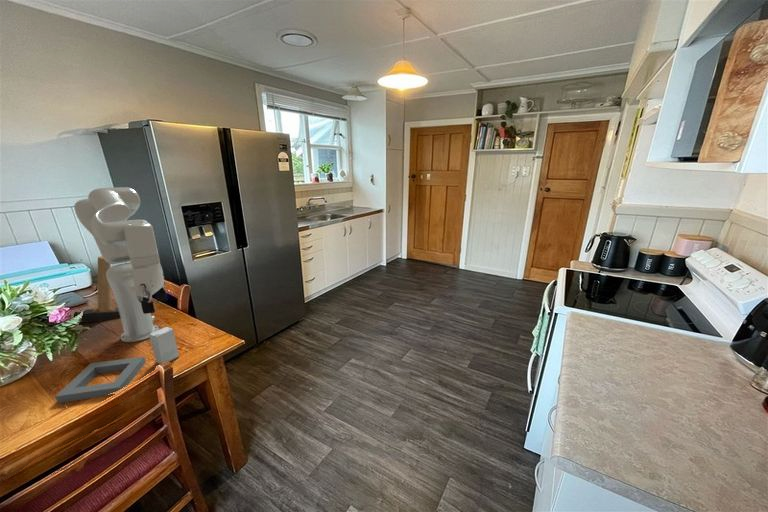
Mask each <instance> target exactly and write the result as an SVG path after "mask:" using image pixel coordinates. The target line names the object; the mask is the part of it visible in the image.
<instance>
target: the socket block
mask: <svg viewBox="0 0 768 512" xmlns="http://www.w3.org/2000/svg"><path fill="white" fill-rule="evenodd" d="M145 364H146V358H145V356H138V357H132V358H121V359H115V360H106V361H99V362H90V363H89V364H88V365H87V366H86V367H85V368H84V369H83V370H82V371H80V373H78V374H77V376H75V377H74V378H73V379H72V380H71V381H70V382H69V383H68V384H67V385H66V386H65V387H64V388H62V390H60V391H59V392H58V393H57V394H56V395H55V399H56V402H57V404H60V403H69V402H75V401H76V402H77V401H81V400H89V399H94V398H95V399H96V398H101V397H107V396H106V395H108V394H110V393H113V392H116V391H118V390H120V389H122V388H123V387H125V386H126V385H128V386H129V385H130V383H131V382H132V381H133V379H134V378H135V377H136V375H137V374H138V373H139V372H140V370H141V369H142V368H143V367H144V365H145ZM118 371H119V372H120V371H122V372H121V373H120V374H118V376H117V377H116V379H115V380H114V381H113V382H106V383H99V384H92V385H88V384H89V383H90V382H91V381H92V380H93V379H94V378H95V376H97V374H104V373H109V372H110V373H111V372H118ZM130 381H131V382H130Z"/></svg>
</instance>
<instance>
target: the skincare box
mask: <svg viewBox="0 0 768 512" xmlns="http://www.w3.org/2000/svg"><path fill="white" fill-rule="evenodd" d="M149 336H150V337H149V339H150V343H151V346H152V350H153V355H154V360H155V362H156V364H157V363H158V364H159V365H161V363H164V362H167V363H169V362H171V361H173V360H174V359H177V358H178V357H179V356H180V354H179V349H178V346H177V345H178V344H177V341H176V336H175V330H174V329H173V328H171V327H168V326H165V327H163V328H159V330H158V331H156V332H153V333H151V334H149Z"/></svg>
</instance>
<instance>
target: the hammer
mask: <svg viewBox="0 0 768 512" xmlns="http://www.w3.org/2000/svg"><path fill="white" fill-rule="evenodd" d="M109 268H111V264H109V263H107V262H106V261H105V260H104V258H103V257H102V255H101V256H98V257H97V308H93V309H92V308H90V309H89V308H88V309H87V308H86V309H85V310H83V311H81V312H83V316H82V319H81V320H80V321H81V322H82V323H92V322H93V323H94V322H101V321H106V320H113V319H118V318H120V314H119V310H118V307H112V306H111V286H110V284H109V282H108V280H107V278H106V272H107V270H108V269H109ZM81 312H79V311H74V313H73V317H75V316H77V315H78V314H80V313H81Z"/></svg>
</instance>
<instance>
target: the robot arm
mask: <svg viewBox="0 0 768 512" xmlns="http://www.w3.org/2000/svg"><path fill="white" fill-rule="evenodd" d="M87 197H88V198H85V199H81V200H78V201H76V202H75V203H74V207H73V209H74V212H75V215H76V217H77V219H78V221H79V222H80V223H81V225H82V226H83V227H84V228H85V229H86V230H87V232H89V234H90V235H92V236H93V239H94V241H95V243H96V246H97V248H98V250H99V253H100V254H101V256H102V257H103V258H104V260H105V261H106V262H107V263H109V264H110V265H113V266H110V268H109V269H108V270H107V272H106V278H107V280H108V282H109V284H110V289H111V290H112V292H113V295H114V298H115V302H116V305H117V306H116V307H117V308H118V310H119V314H120V317H119V318H120V321H121V325H122V328H123V331H124V332H122V334H121V335H120V340H121V341H122V342H124V343H135V342H139V341H140V342H141V341H143V340H146V339H150V336H149V334H151V333H153V332H156V331H158V330H160V328H159V326H158V325H156V324H154V323H153V322H154V321H155V319H156V317H155V316H154V315H152V314H154V313H155V312H156V309H155V305H154V301H152V299H153V295H154V296H155V298H156V299H155V300H156V302H167V301H168V297H167V292H166V286H165V284H166V282H165V276H164V271H163V267H162V264H161V259H160V254H159V250H158V246H157V239H156V236H155V231H154V227H153V225H152V224H151V223H149V222H148V221H147V220H145V219H130V217H132V216H134V215H135V214H136V212H137V211H138V210H139V208H140V206H141V198H140V195H139V194H138V192H137V191H136V190H135V189H134V188H131V187H126V186H124V187H123V186H120V187H99V188H94V189H92V190H90V192H89V194H88V196H87ZM129 219H130V220H129Z"/></svg>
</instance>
